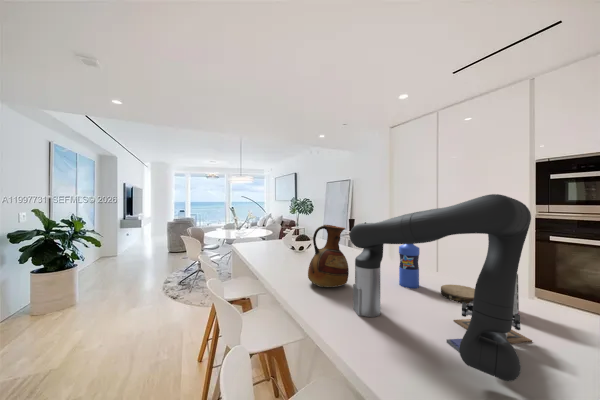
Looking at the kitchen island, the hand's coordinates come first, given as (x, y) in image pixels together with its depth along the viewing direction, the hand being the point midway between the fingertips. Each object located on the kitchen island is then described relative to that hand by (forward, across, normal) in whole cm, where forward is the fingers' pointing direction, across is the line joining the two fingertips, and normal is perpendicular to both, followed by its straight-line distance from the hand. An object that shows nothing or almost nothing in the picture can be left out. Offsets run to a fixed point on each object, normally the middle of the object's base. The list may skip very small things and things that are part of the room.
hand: (489, 307), depth 79 cm
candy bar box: (+19, -5, +7) cm, 21 cm away
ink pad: (-18, +2, +7) cm, 20 cm away
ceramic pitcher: (+2, +64, +7) cm, 64 cm away
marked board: (-2, 0, +7) cm, 7 cm away
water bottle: (+27, +32, +7) cm, 42 cm away
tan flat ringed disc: (+26, +10, +8) cm, 29 cm away
